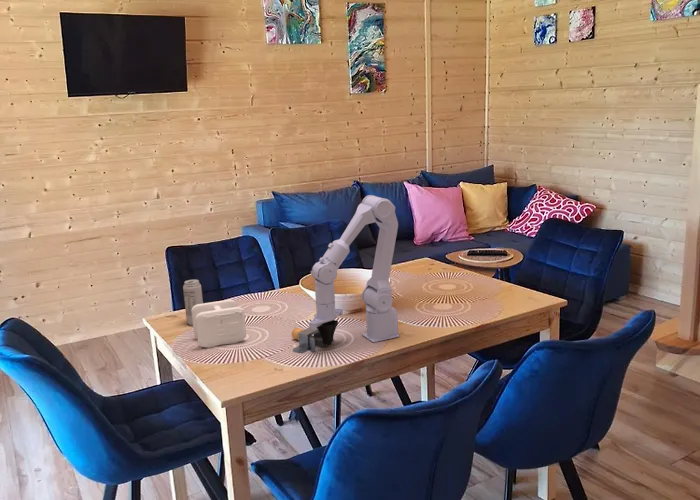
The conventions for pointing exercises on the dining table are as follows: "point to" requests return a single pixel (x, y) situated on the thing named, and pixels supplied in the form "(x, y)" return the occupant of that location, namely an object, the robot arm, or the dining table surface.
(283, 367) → the dining table surface
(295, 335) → the grey and orange tool
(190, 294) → the energy drink can
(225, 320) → the cable organizer
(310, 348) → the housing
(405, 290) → the dining table surface
